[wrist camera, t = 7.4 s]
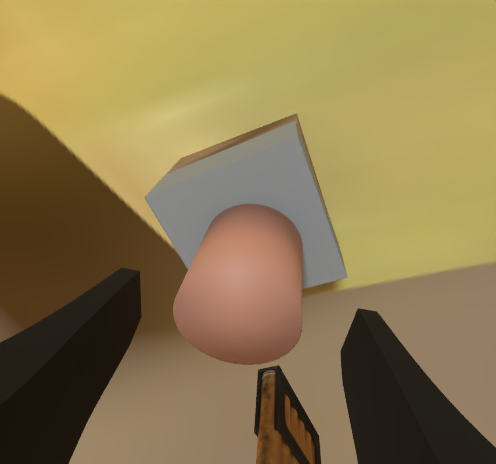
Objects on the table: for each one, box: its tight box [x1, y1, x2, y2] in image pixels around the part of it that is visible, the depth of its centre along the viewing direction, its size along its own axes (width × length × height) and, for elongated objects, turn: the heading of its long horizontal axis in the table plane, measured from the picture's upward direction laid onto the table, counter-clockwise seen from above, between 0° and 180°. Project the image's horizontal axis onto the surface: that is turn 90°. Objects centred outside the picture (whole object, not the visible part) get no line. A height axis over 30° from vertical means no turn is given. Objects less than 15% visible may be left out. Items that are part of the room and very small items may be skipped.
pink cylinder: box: [173, 204, 303, 365], centre depth 13 cm, size 4×4×4 cm
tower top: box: [144, 121, 348, 289], centre depth 16 cm, size 7×7×3 cm
